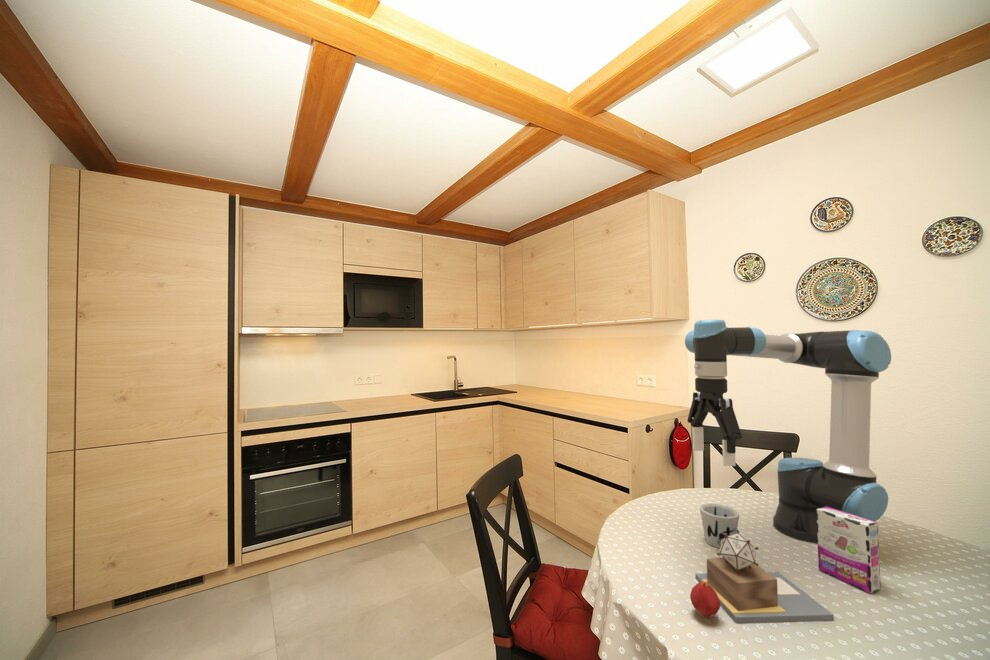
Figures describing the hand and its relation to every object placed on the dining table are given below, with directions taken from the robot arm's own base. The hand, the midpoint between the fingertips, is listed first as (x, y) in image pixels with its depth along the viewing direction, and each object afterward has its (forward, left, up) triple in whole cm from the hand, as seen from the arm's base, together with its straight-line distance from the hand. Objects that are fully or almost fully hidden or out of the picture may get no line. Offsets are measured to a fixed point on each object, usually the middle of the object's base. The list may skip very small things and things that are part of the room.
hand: (712, 457), depth 102 cm
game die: (0, +10, -23) cm, 25 cm away
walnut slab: (0, +10, -29) cm, 31 cm away
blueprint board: (-5, +9, -31) cm, 32 cm away
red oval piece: (+12, +15, -31) cm, 36 cm away
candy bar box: (-33, +3, -31) cm, 45 cm away
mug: (-12, -18, -31) cm, 38 cm away
